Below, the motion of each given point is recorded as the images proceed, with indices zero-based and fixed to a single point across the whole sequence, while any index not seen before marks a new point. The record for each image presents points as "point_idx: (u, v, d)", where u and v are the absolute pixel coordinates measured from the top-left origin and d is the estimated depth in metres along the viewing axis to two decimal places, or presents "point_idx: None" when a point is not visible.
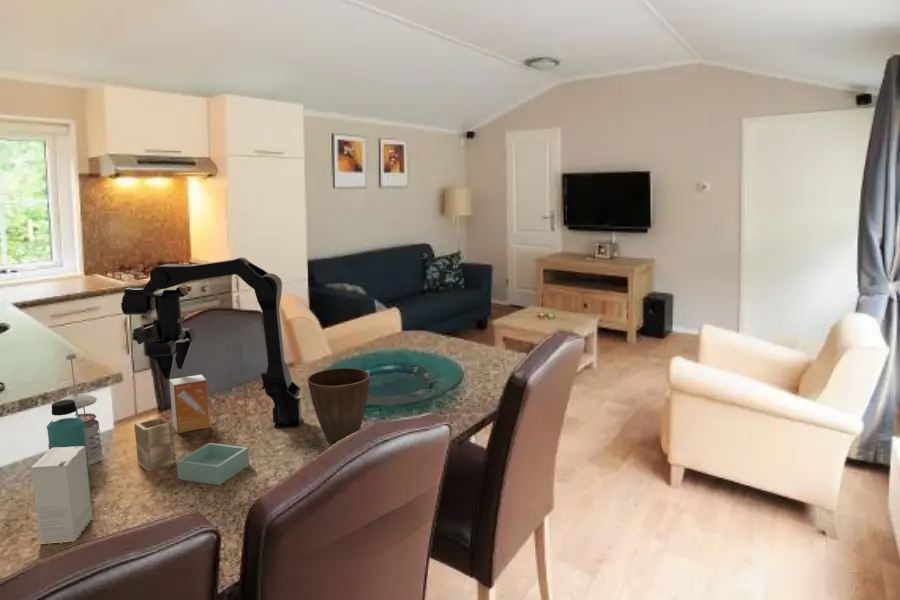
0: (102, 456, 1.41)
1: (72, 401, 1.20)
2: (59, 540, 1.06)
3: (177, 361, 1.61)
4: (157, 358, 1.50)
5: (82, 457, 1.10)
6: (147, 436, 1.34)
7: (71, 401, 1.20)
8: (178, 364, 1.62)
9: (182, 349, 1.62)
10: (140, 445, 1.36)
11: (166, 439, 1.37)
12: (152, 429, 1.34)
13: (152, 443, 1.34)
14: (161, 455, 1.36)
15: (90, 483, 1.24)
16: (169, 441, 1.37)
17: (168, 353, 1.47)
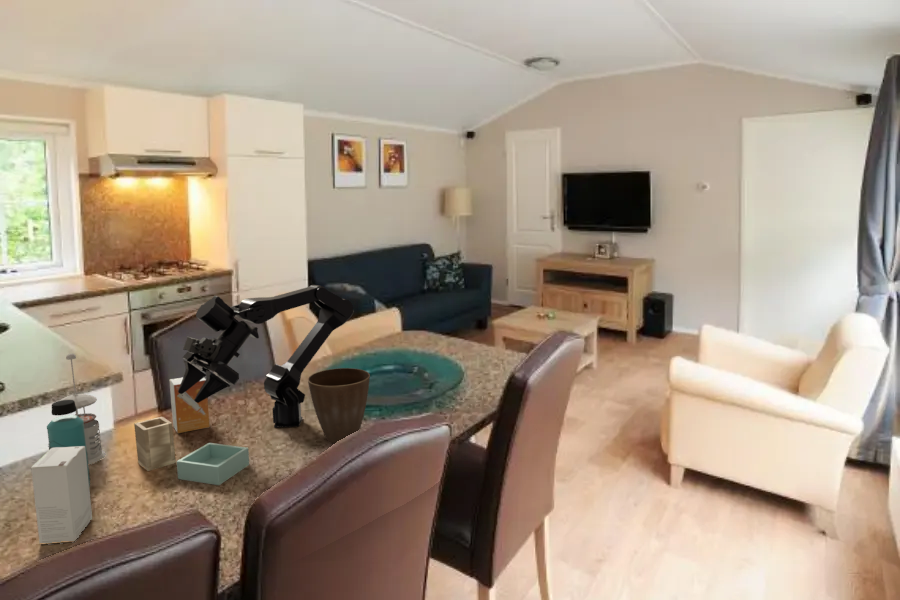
0: (102, 456, 1.41)
1: (72, 401, 1.20)
2: (59, 540, 1.06)
3: (183, 385, 1.46)
4: (211, 379, 1.39)
5: (82, 457, 1.10)
6: (147, 436, 1.33)
7: (71, 401, 1.20)
8: (182, 388, 1.45)
9: (195, 376, 1.48)
10: (140, 445, 1.36)
11: (166, 439, 1.37)
12: (152, 429, 1.34)
13: (152, 443, 1.34)
14: (161, 455, 1.36)
15: (90, 483, 1.24)
16: (169, 441, 1.37)
17: (234, 383, 1.40)
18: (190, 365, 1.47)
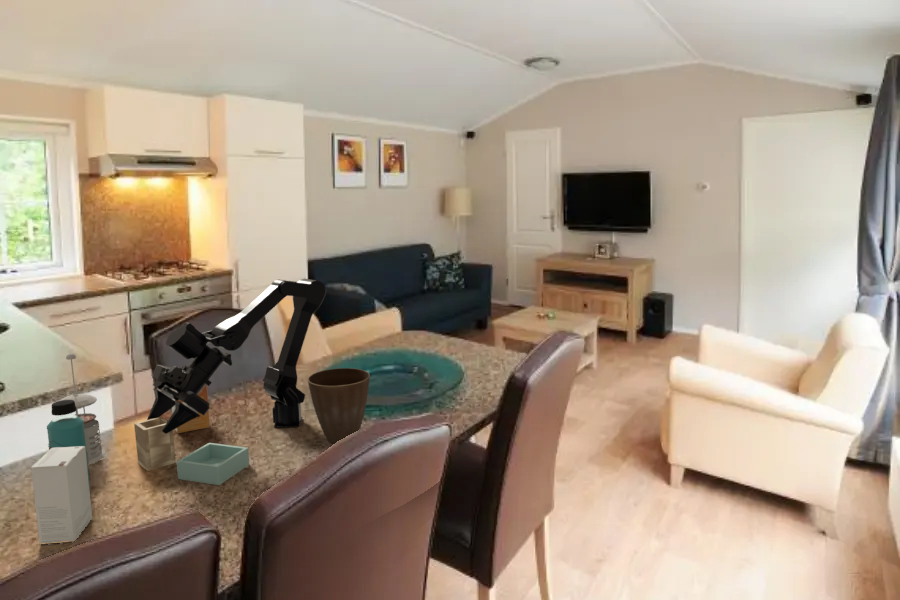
0: (102, 456, 1.41)
1: (72, 401, 1.20)
2: (59, 540, 1.06)
3: (152, 413, 1.41)
4: (180, 409, 1.35)
5: (82, 457, 1.10)
6: (147, 436, 1.34)
7: (71, 401, 1.20)
8: (151, 417, 1.41)
9: (165, 405, 1.44)
10: (140, 445, 1.36)
11: (166, 439, 1.37)
12: (152, 429, 1.34)
13: (152, 443, 1.34)
14: (161, 455, 1.36)
15: (90, 483, 1.24)
16: (169, 441, 1.37)
17: (204, 413, 1.36)
18: (160, 393, 1.42)
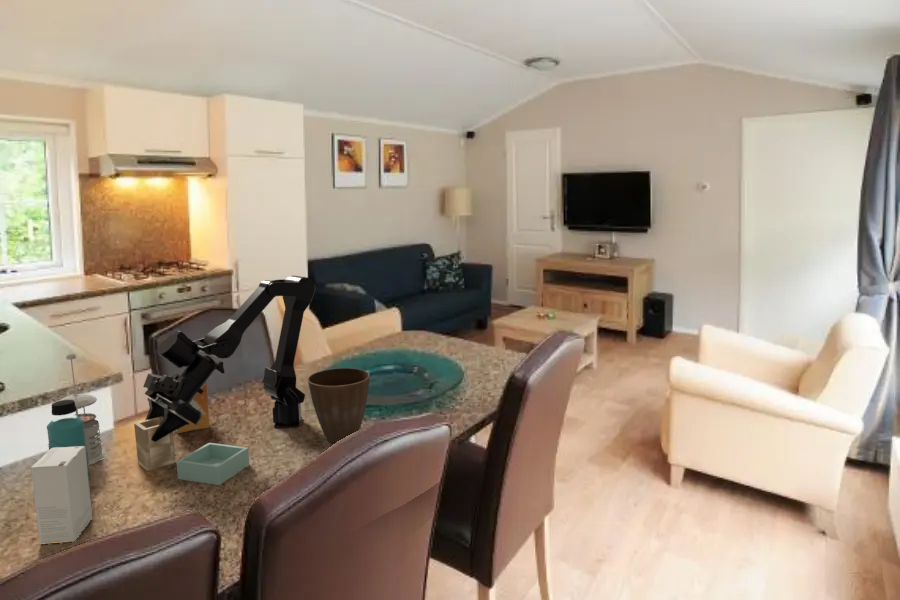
0: (102, 456, 1.41)
1: (72, 401, 1.20)
2: (59, 540, 1.06)
3: None
4: (169, 417, 1.34)
5: (82, 457, 1.10)
6: (147, 436, 1.33)
7: (71, 401, 1.20)
8: None
9: (160, 415, 1.41)
10: (140, 445, 1.36)
11: (166, 439, 1.37)
12: (152, 429, 1.34)
13: (152, 443, 1.34)
14: (161, 455, 1.36)
15: (90, 483, 1.24)
16: (169, 441, 1.37)
17: (196, 423, 1.35)
18: (154, 403, 1.40)
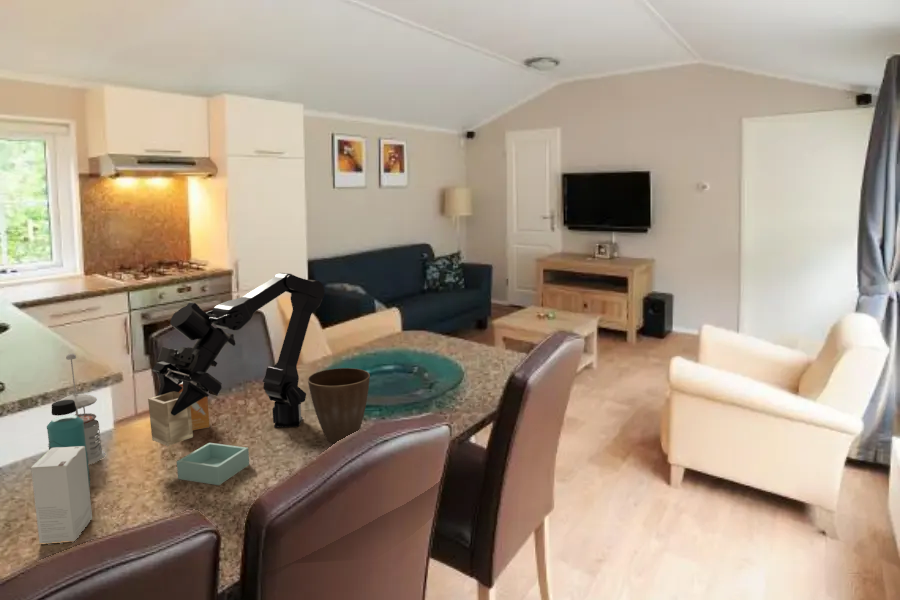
0: (102, 456, 1.41)
1: (72, 401, 1.20)
2: (59, 540, 1.06)
3: None
4: (189, 389, 1.32)
5: (82, 457, 1.10)
6: (166, 410, 1.30)
7: (71, 401, 1.20)
8: None
9: (172, 390, 1.38)
10: (157, 420, 1.32)
11: (184, 413, 1.33)
12: (171, 403, 1.31)
13: (171, 417, 1.31)
14: (179, 429, 1.33)
15: (90, 483, 1.24)
16: (187, 415, 1.34)
17: (217, 394, 1.33)
18: (166, 378, 1.36)
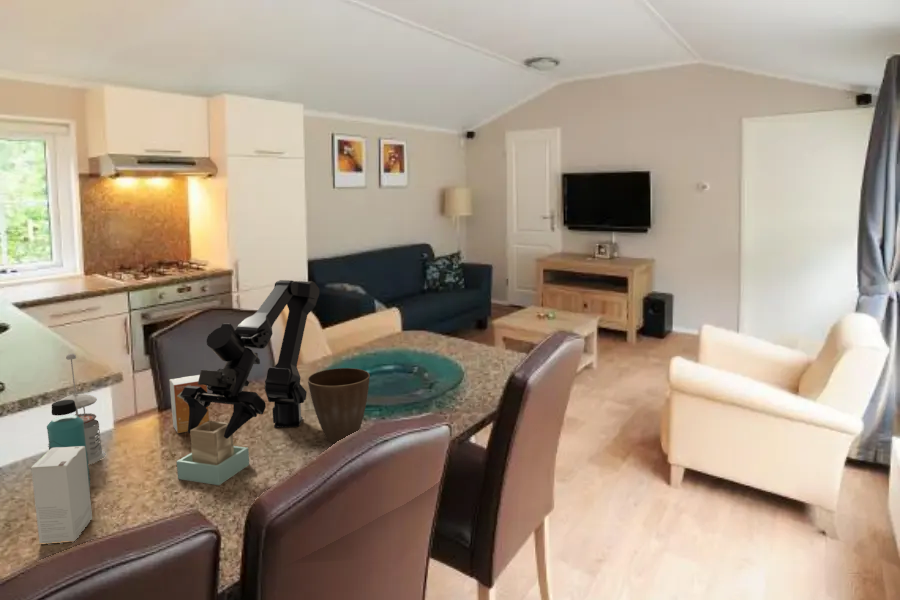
0: (102, 456, 1.41)
1: (72, 401, 1.20)
2: (59, 540, 1.06)
3: (192, 423, 1.33)
4: (241, 411, 1.31)
5: (82, 457, 1.10)
6: (216, 439, 1.29)
7: (71, 401, 1.20)
8: (192, 427, 1.33)
9: (200, 413, 1.36)
10: (203, 451, 1.30)
11: (228, 440, 1.33)
12: (219, 432, 1.30)
13: (219, 446, 1.30)
14: (225, 457, 1.32)
15: (90, 483, 1.24)
16: (230, 442, 1.34)
17: None
18: (196, 401, 1.35)
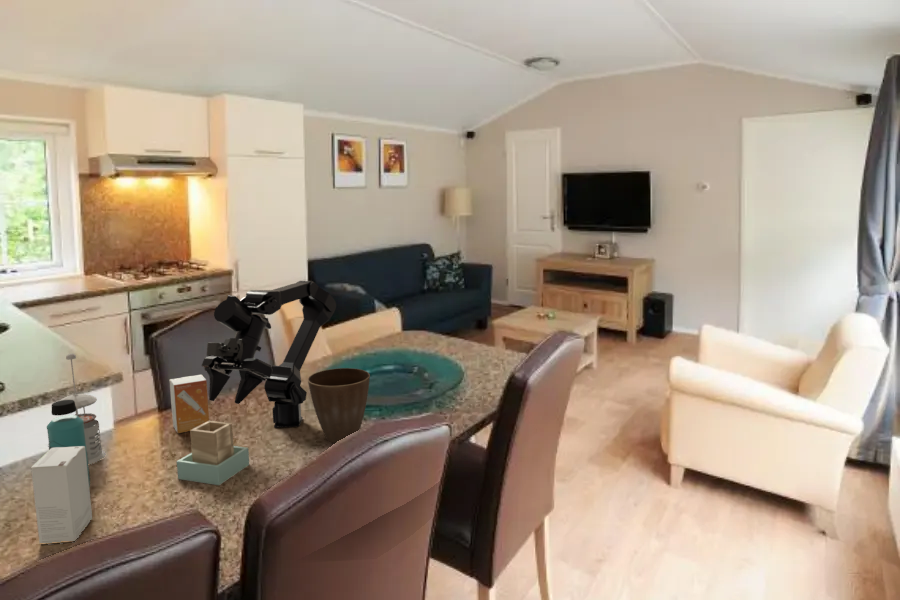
0: (102, 456, 1.41)
1: (72, 401, 1.20)
2: (59, 540, 1.06)
3: (213, 391, 1.43)
4: (247, 377, 1.38)
5: (82, 457, 1.10)
6: (216, 439, 1.29)
7: (71, 401, 1.20)
8: (212, 395, 1.43)
9: (221, 380, 1.45)
10: (203, 451, 1.30)
11: (228, 440, 1.33)
12: (219, 432, 1.30)
13: (219, 446, 1.30)
14: (225, 457, 1.32)
15: (90, 483, 1.24)
16: (230, 442, 1.34)
17: (270, 376, 1.40)
18: (213, 370, 1.44)
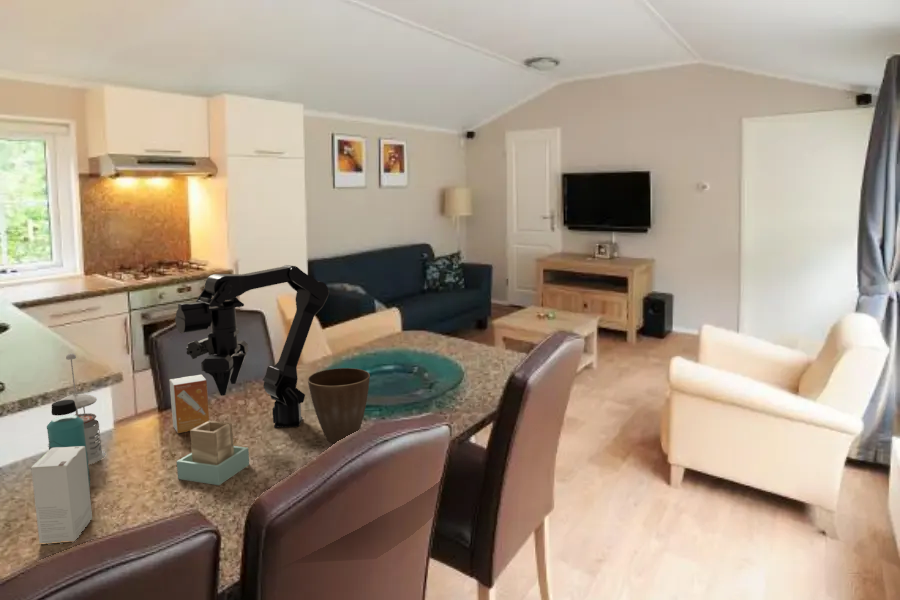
0: (102, 456, 1.41)
1: (72, 401, 1.20)
2: (59, 540, 1.06)
3: (230, 376, 1.53)
4: (213, 374, 1.42)
5: (82, 457, 1.10)
6: (216, 439, 1.29)
7: (71, 401, 1.20)
8: (231, 379, 1.53)
9: (236, 363, 1.53)
10: (203, 451, 1.30)
11: (228, 440, 1.33)
12: (219, 432, 1.30)
13: (219, 446, 1.30)
14: (225, 457, 1.32)
15: (90, 483, 1.24)
16: (230, 442, 1.34)
17: (226, 369, 1.39)
18: None
